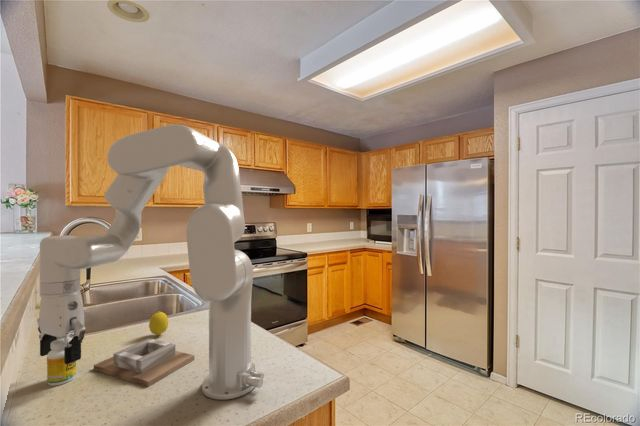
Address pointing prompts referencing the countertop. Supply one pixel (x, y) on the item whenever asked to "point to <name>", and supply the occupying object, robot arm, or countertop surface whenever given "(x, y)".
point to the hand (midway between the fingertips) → (60, 357)
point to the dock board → (148, 374)
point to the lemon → (158, 323)
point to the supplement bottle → (59, 365)
